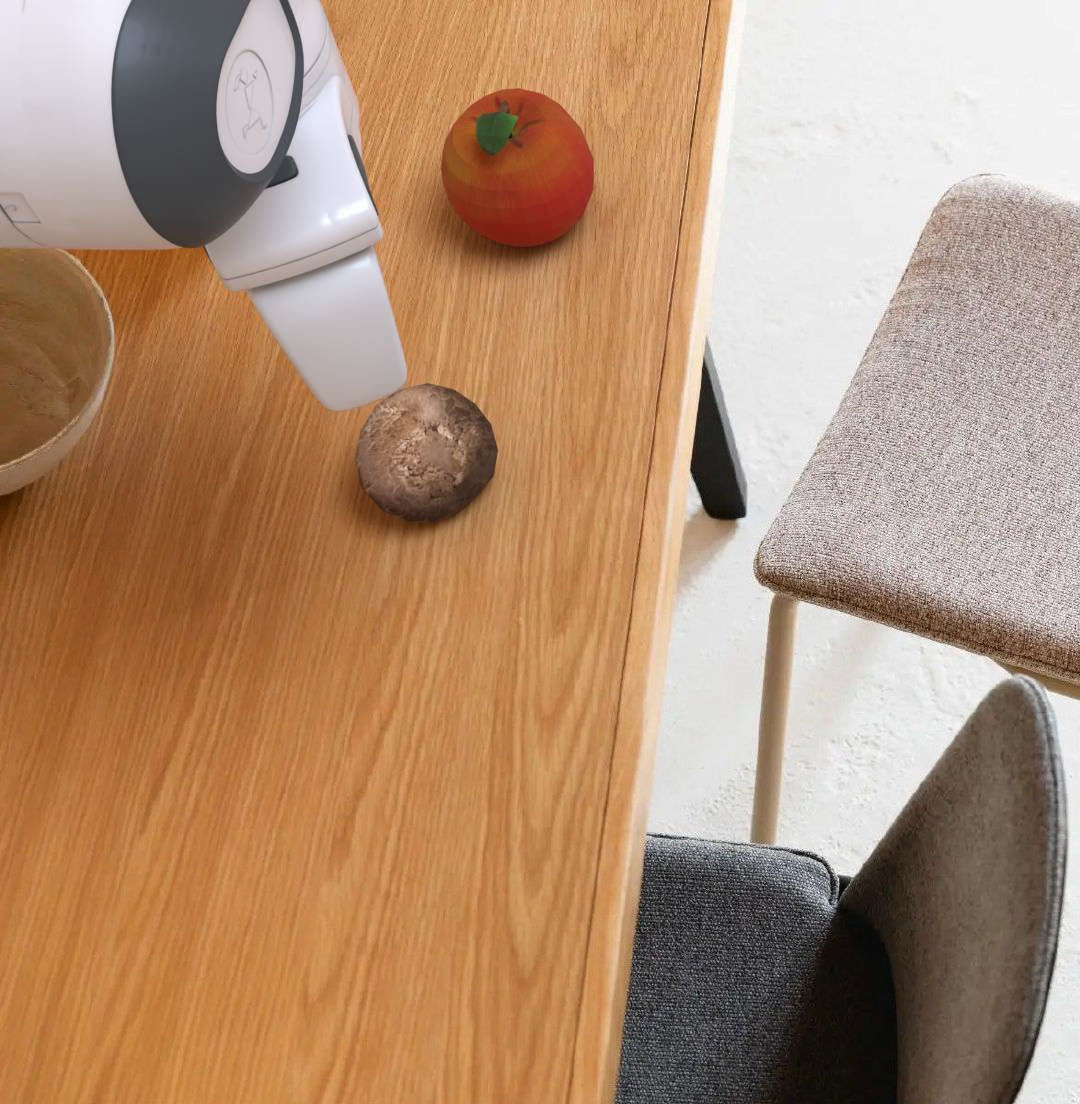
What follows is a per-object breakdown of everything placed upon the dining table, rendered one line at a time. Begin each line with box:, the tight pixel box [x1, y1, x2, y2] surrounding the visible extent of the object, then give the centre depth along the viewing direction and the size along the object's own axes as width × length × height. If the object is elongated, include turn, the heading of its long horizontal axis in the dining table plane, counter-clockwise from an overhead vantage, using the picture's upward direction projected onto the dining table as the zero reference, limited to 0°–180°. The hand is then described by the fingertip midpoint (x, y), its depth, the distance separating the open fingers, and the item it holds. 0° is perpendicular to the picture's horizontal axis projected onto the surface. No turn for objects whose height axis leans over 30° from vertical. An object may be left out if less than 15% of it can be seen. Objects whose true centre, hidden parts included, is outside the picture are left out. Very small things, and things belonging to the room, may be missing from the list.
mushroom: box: [354, 382, 499, 524], centre depth 85 cm, size 8×8×6 cm
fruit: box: [440, 87, 595, 248], centre depth 93 cm, size 10×10×10 cm
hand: (340, 317), depth 72 cm, fingers open, 8 cm apart
